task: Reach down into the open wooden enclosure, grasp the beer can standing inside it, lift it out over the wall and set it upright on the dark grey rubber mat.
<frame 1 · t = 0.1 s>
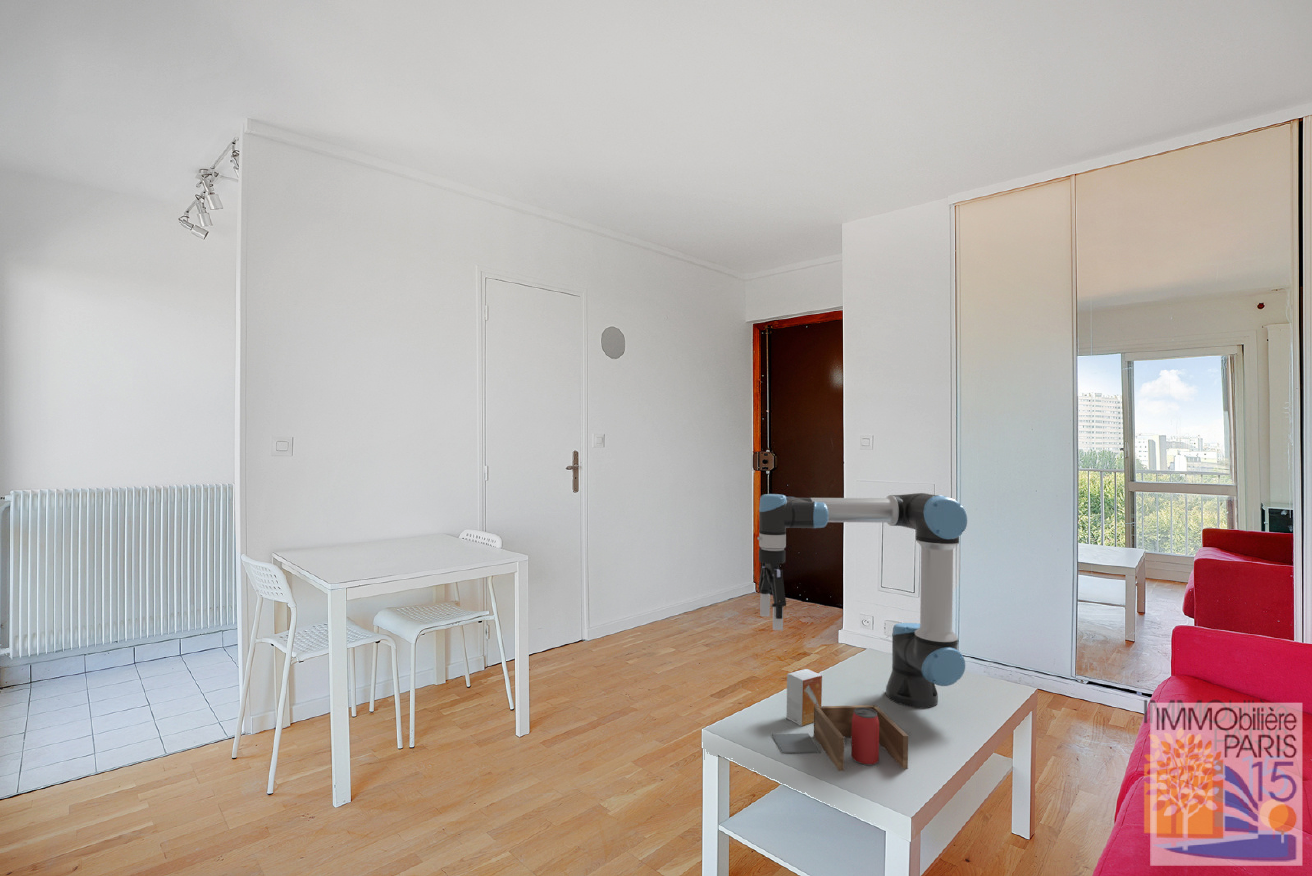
hand: (771, 622, 181), 28 cm above the table, fingers open, 13 cm apart
beer can: (864, 760, 159), on the table
open wooden enclosure: (859, 752, 162), on the table
place mat: (795, 744, 167), on the table
small box: (803, 720, 182), on the table
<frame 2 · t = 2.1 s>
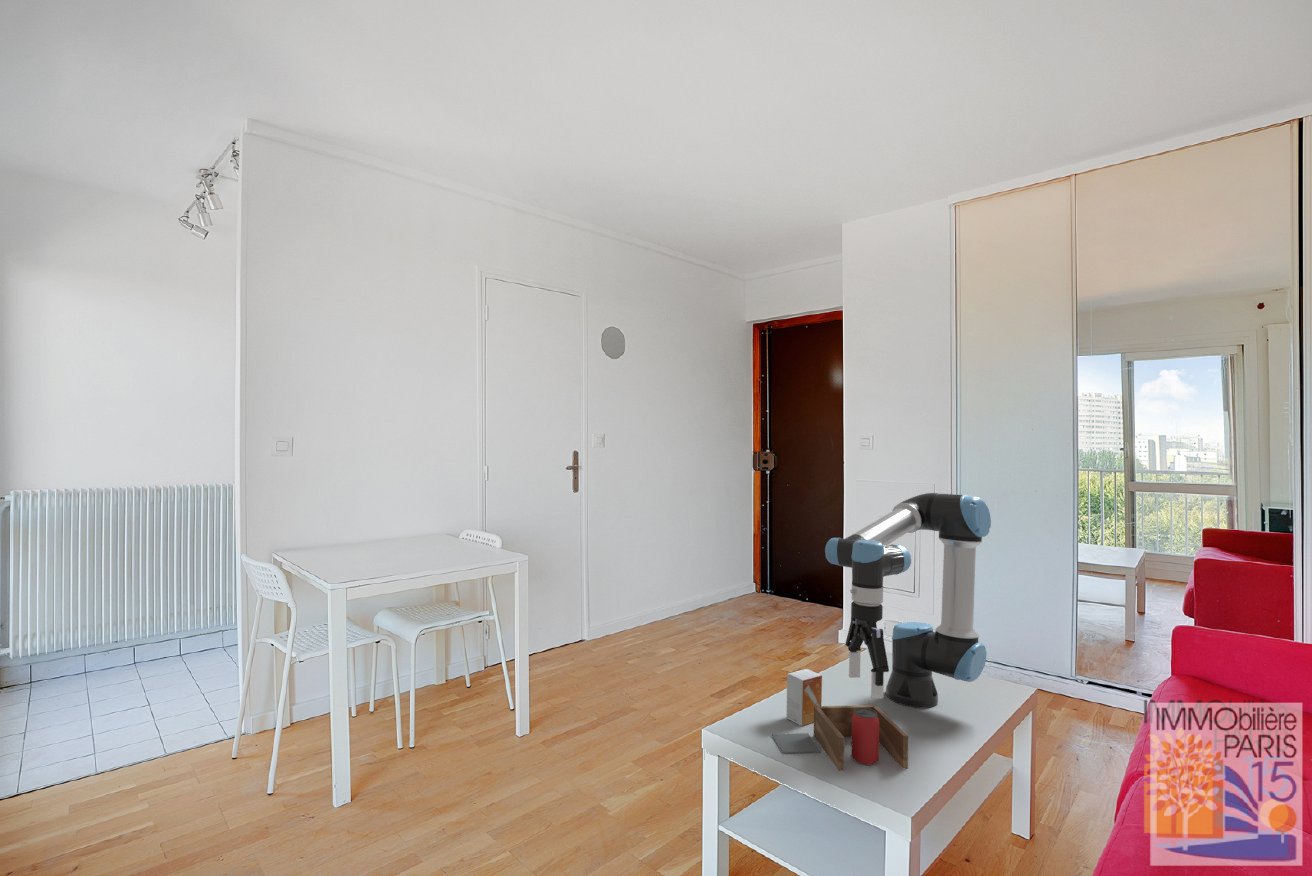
hand: (865, 687, 159), 18 cm above the table, fingers open, 13 cm apart
nothing on the table moved.
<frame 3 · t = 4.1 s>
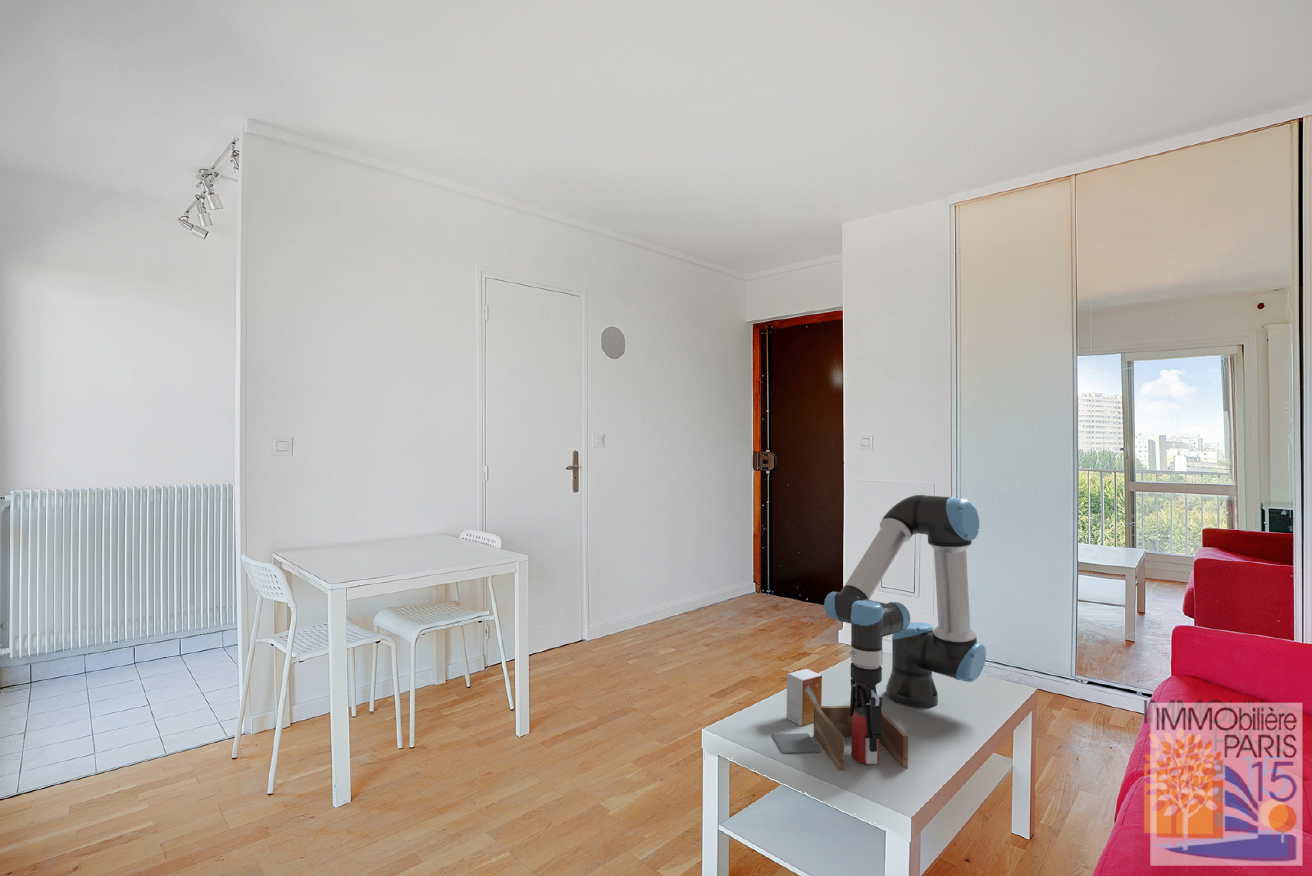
hand: (865, 755, 159), 1 cm above the table, fingers closed on beer can, 7 cm apart
beer can: (865, 760, 159), on the table, touching gripper
everything else where it was.
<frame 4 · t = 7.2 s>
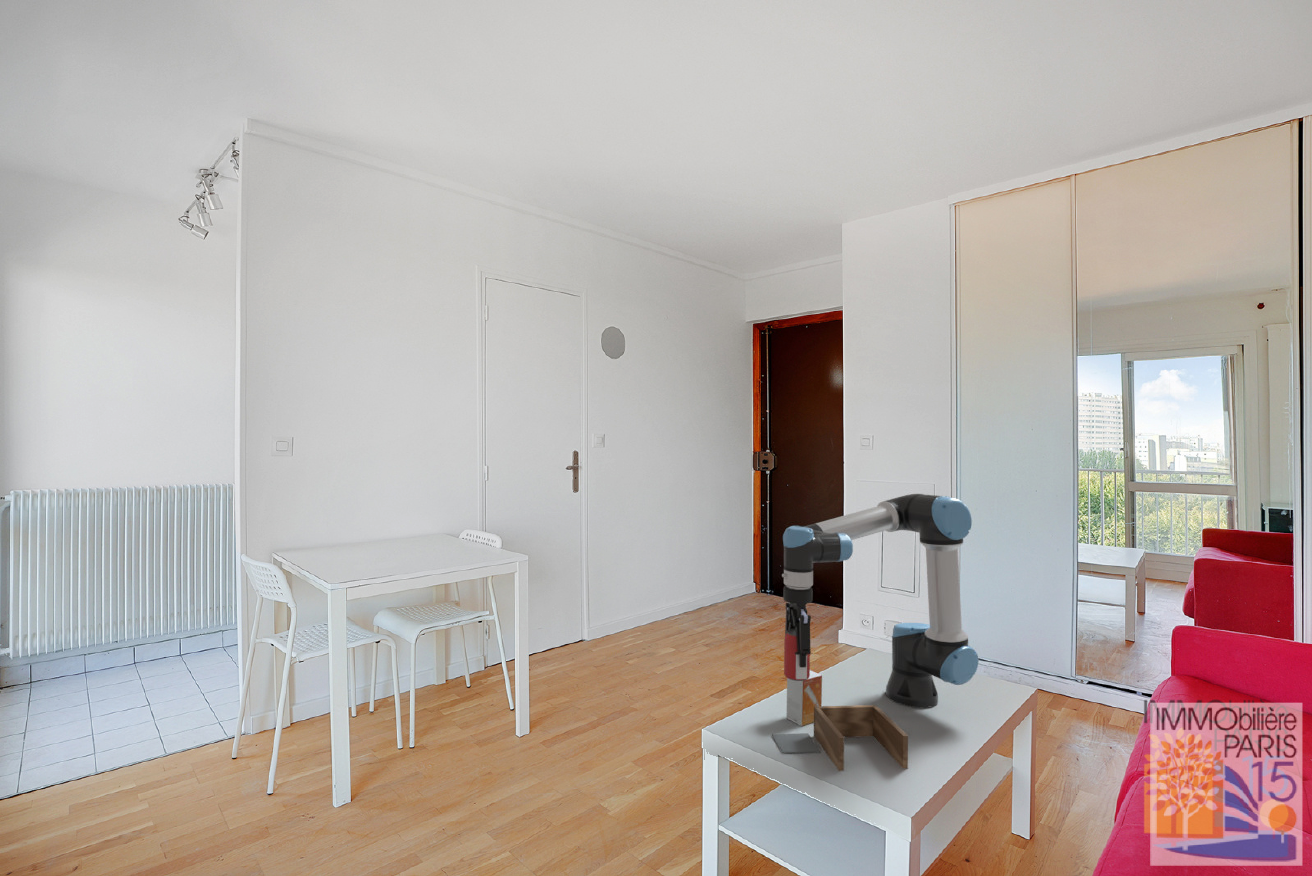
hand: (796, 673, 167), 19 cm above the table, fingers closed on beer can, 7 cm apart
beer can: (796, 677, 167), point 17 cm above the table, touching gripper
everything else where it was.
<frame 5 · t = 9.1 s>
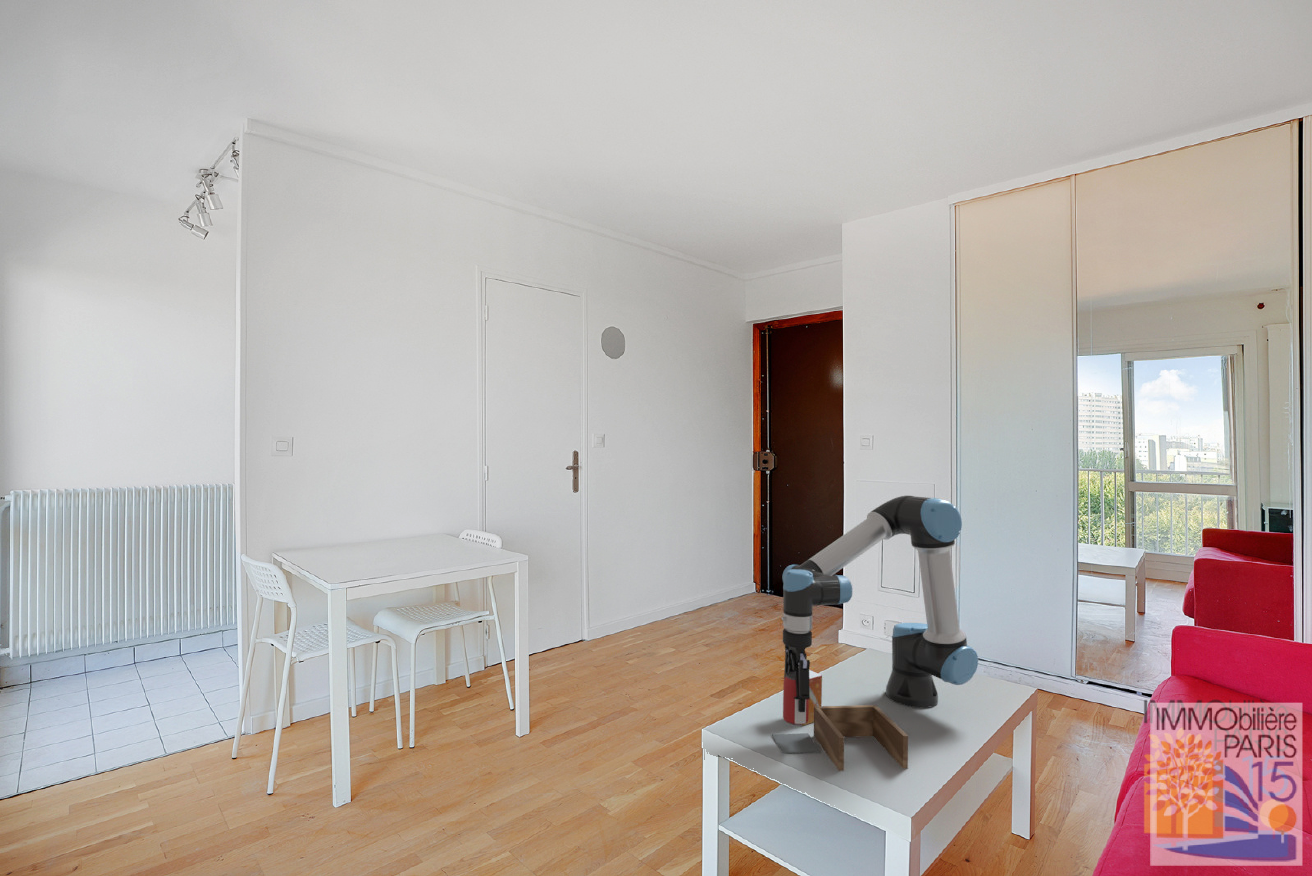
hand: (795, 716, 167), 7 cm above the table, fingers closed on beer can, 7 cm apart
beer can: (795, 721, 167), point 6 cm above the table, touching gripper
everything else where it was.
when the fingers open (2 cm above the table, at t = 10.5 s): beer can stays where it is, resting on place mat.
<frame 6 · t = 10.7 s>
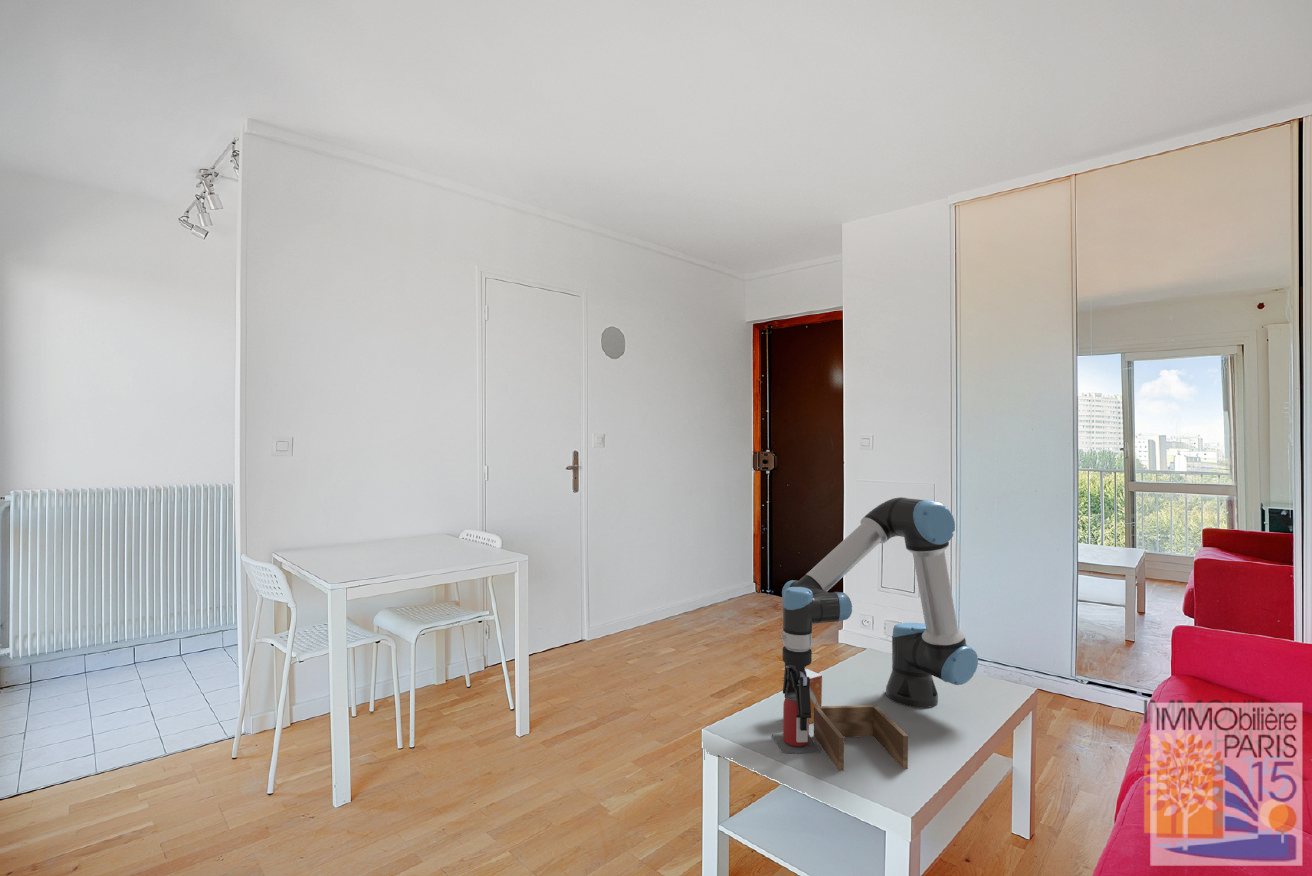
hand: (795, 732, 167), 3 cm above the table, fingers open, 9 cm apart
beer can: (795, 742, 167), resting on place mat
everything else where it was.
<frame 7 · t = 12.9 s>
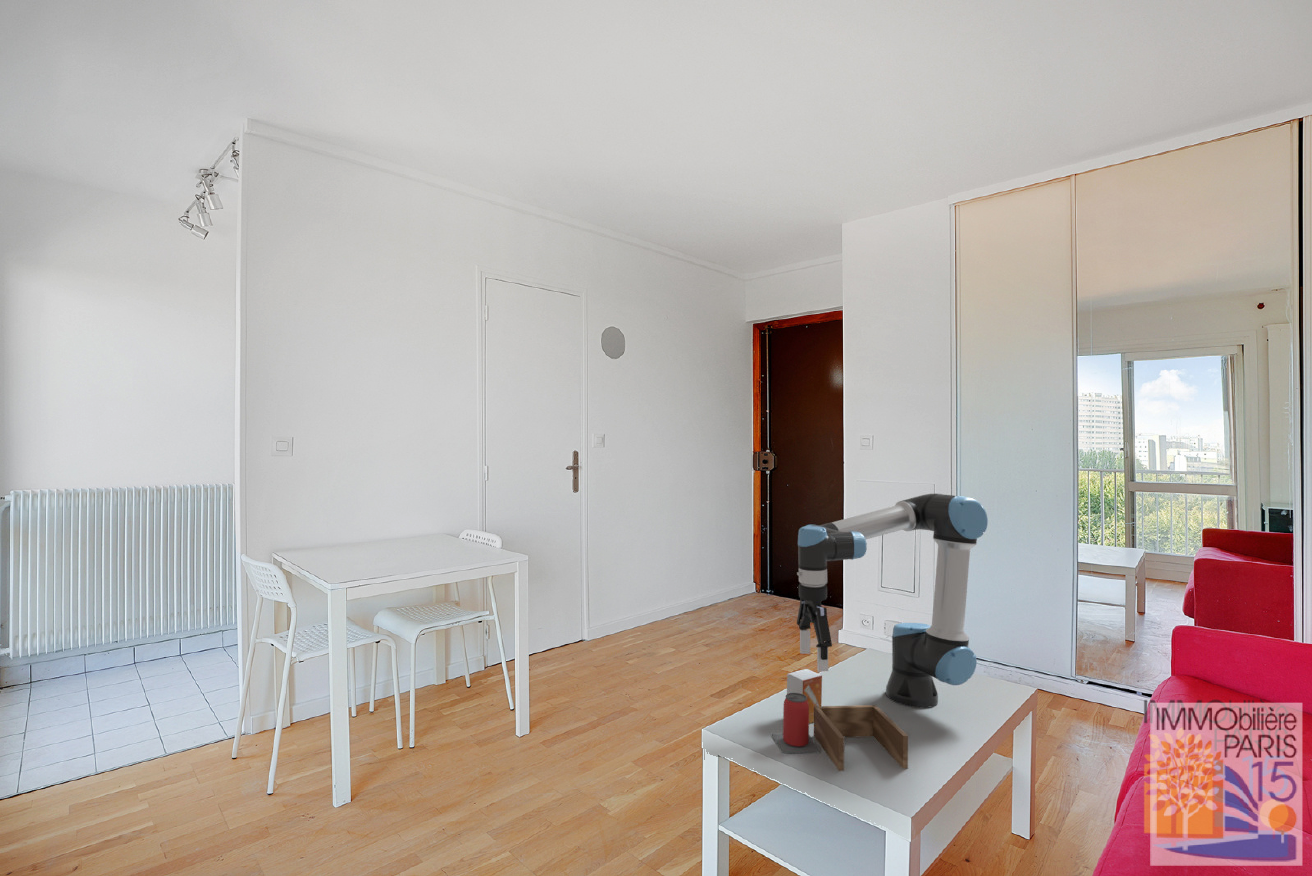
hand: (813, 661, 172), 20 cm above the table, fingers open, 13 cm apart
nothing on the table moved.
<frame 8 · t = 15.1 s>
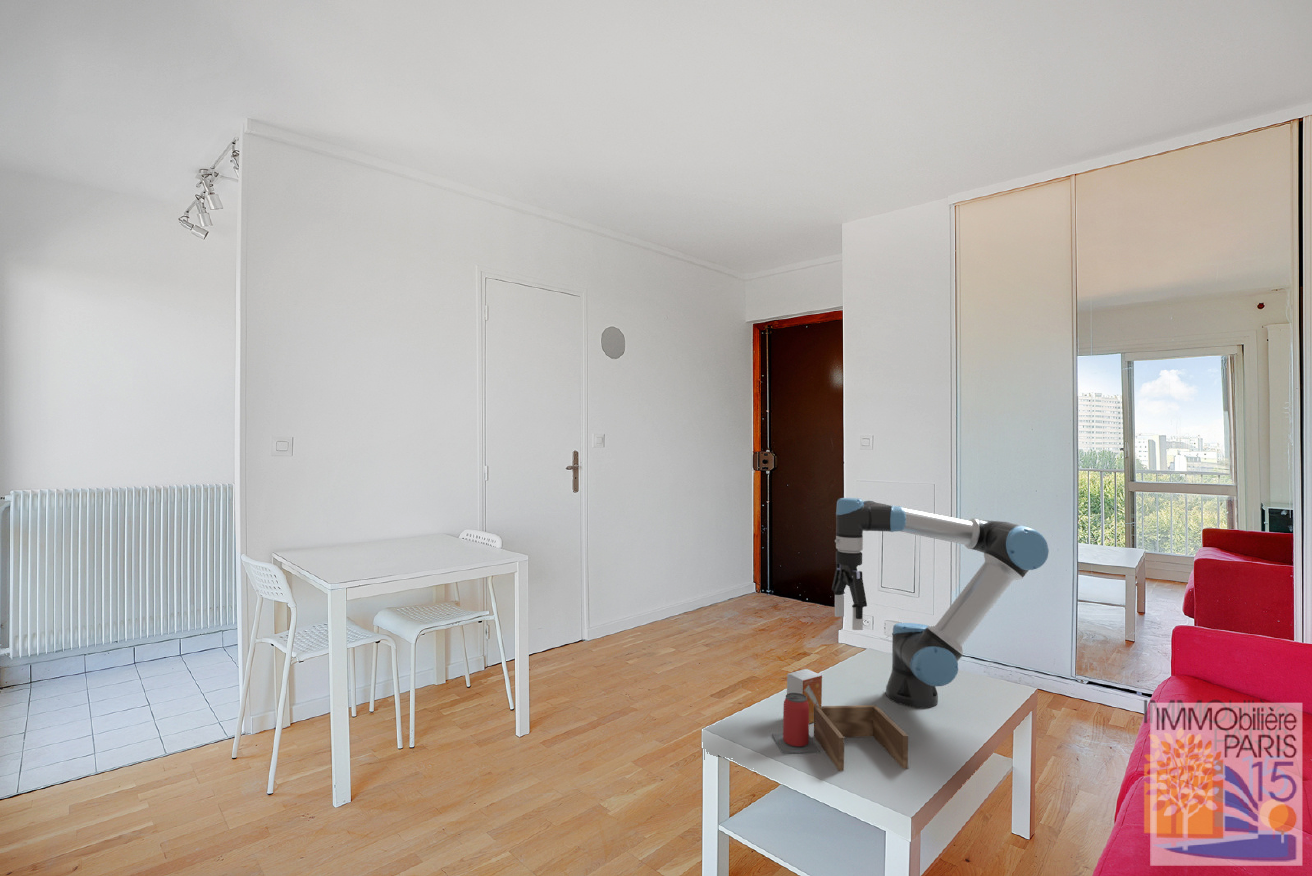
hand: (848, 622, 186), 27 cm above the table, fingers open, 13 cm apart
nothing on the table moved.
at the end: beer can inside the target area on the place mat (0.1 cm from its centre), point 0.2 cm above the place mat's base; beer can tilted 0°; the gripper is holding nothing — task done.
